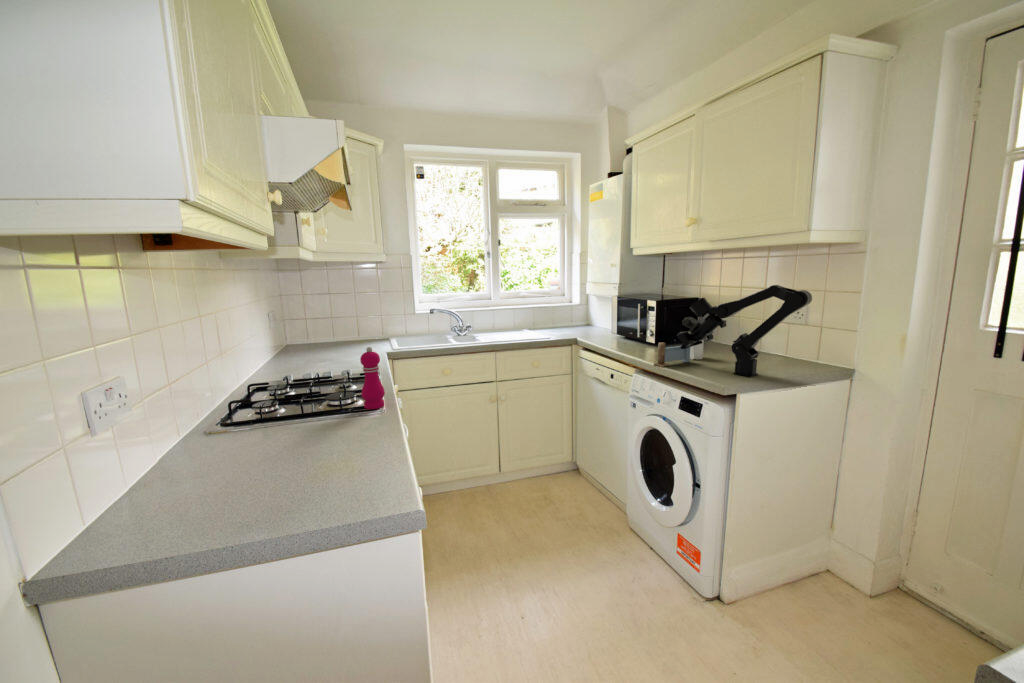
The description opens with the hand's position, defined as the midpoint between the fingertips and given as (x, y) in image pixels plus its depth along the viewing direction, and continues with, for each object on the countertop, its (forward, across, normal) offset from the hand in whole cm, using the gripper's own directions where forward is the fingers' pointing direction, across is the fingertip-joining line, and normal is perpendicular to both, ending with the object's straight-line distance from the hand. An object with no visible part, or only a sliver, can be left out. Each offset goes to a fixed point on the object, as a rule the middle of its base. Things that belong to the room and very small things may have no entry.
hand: (682, 348), depth 182 cm
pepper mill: (+23, +127, -15) cm, 130 cm away
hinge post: (+7, +10, +2) cm, 13 cm away
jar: (+8, -14, +3) cm, 16 cm away
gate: (+6, +2, +4) cm, 7 cm away
